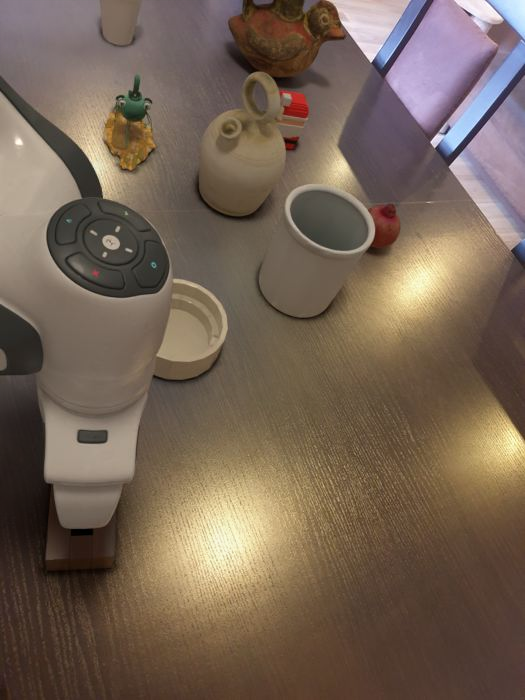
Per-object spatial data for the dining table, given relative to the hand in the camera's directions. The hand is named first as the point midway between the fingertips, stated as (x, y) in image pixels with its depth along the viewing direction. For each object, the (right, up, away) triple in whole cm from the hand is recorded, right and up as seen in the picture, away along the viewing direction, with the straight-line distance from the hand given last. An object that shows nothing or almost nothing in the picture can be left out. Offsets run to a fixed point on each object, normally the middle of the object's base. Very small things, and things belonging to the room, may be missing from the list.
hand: (87, 440), depth 56 cm
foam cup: (-14, +78, +68) cm, 104 cm away
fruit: (+39, +30, +57) cm, 75 cm away
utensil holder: (+23, +20, +45) cm, 54 cm away
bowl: (+4, +11, +31) cm, 33 cm away
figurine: (+21, +54, +65) cm, 88 cm away
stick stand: (-5, -12, +14) cm, 19 cm away
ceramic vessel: (+20, +76, +79) cm, 111 cm away
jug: (+11, +39, +52) cm, 66 cm away
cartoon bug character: (-8, +49, +52) cm, 72 cm away
